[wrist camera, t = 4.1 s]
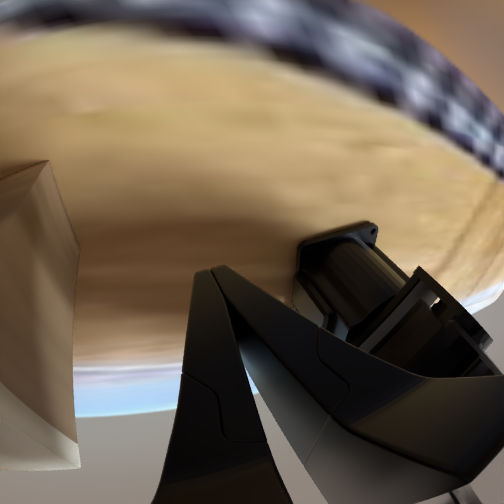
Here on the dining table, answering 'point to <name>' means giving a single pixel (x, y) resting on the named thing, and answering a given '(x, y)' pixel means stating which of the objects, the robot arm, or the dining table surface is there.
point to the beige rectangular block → (36, 324)
